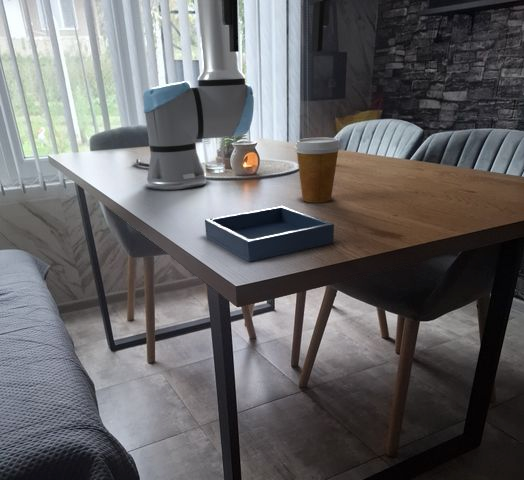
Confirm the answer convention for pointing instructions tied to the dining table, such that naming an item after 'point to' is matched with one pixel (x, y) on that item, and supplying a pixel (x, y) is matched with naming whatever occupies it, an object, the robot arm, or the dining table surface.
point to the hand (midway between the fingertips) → (276, 52)
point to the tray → (268, 232)
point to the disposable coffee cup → (317, 167)
